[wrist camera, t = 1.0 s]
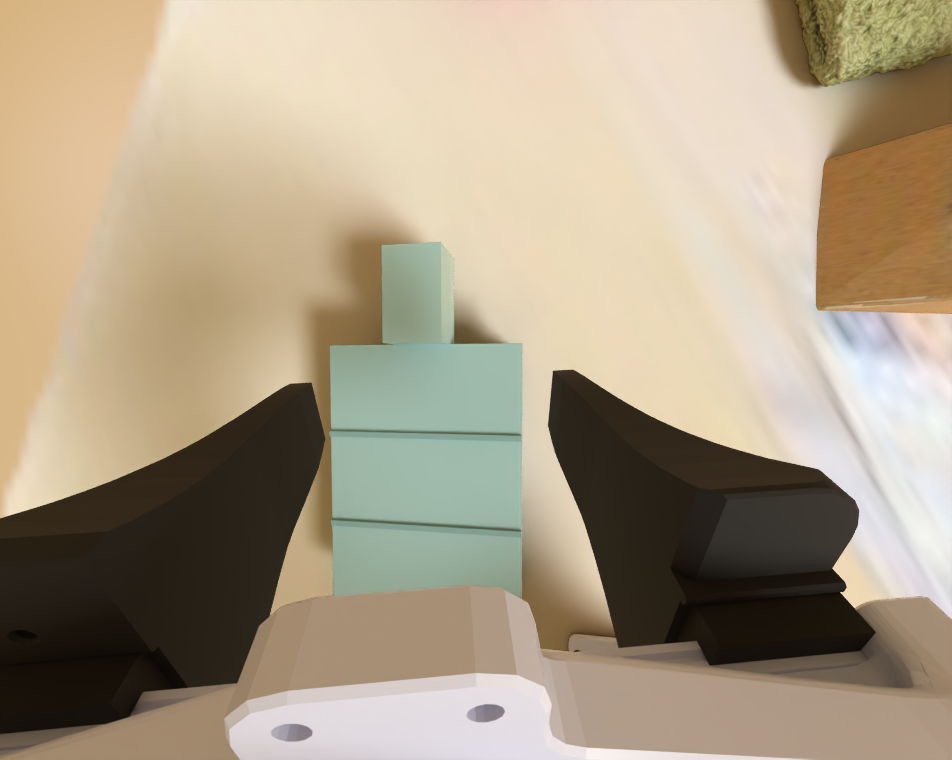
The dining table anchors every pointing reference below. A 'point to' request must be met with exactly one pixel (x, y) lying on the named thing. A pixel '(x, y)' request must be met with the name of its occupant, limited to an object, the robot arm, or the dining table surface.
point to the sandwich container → (888, 227)
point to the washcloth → (873, 36)
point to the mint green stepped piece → (425, 443)
